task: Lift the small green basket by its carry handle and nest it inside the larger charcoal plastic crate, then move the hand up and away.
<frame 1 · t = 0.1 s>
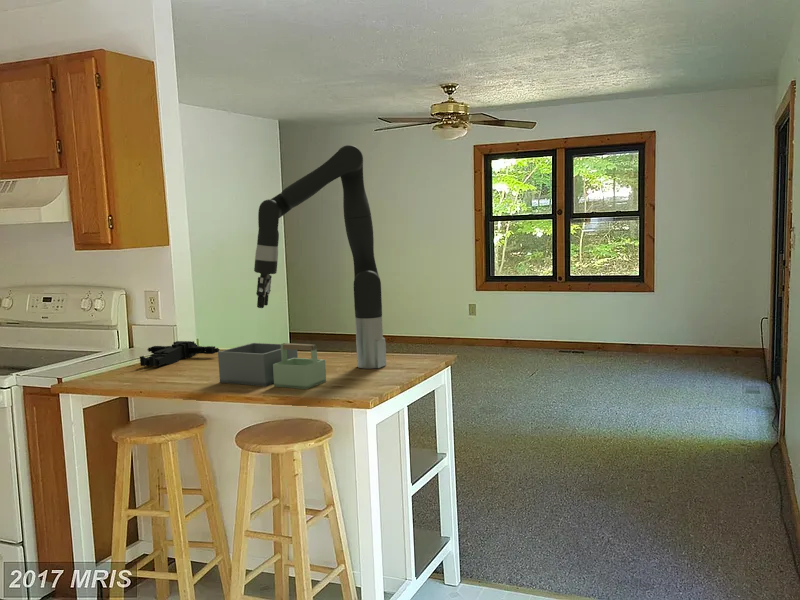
hand: (262, 306, 244), 22 cm above the worktop, tool pointing down, fingers open, 8 cm apart
charcoal crate: (259, 378, 234), on the worktop
green basket: (300, 384, 223), on the worktop
toy: (171, 362, 273), on the worktop
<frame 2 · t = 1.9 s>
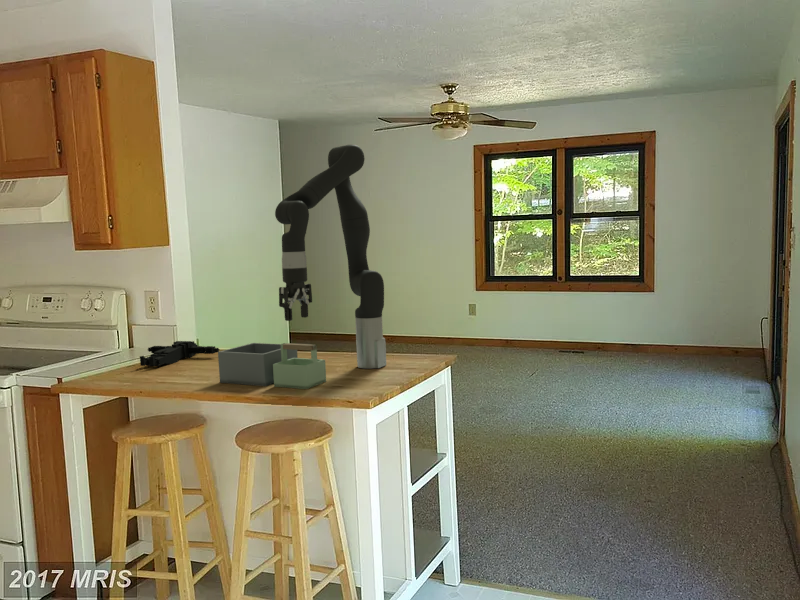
hand: (296, 318, 221), 20 cm above the worktop, tool pointing down, fingers open, 8 cm apart
nothing on the worktop moved.
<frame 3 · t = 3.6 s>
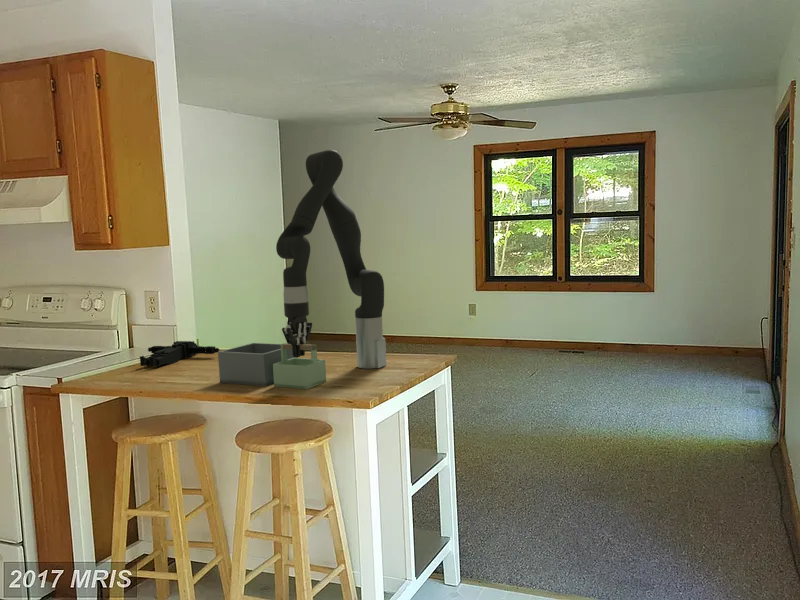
hand: (299, 356, 223), 9 cm above the worktop, tool pointing down, fingers closed on green basket
green basket: (300, 383, 223), on the worktop, touching gripper
everything else where it was.
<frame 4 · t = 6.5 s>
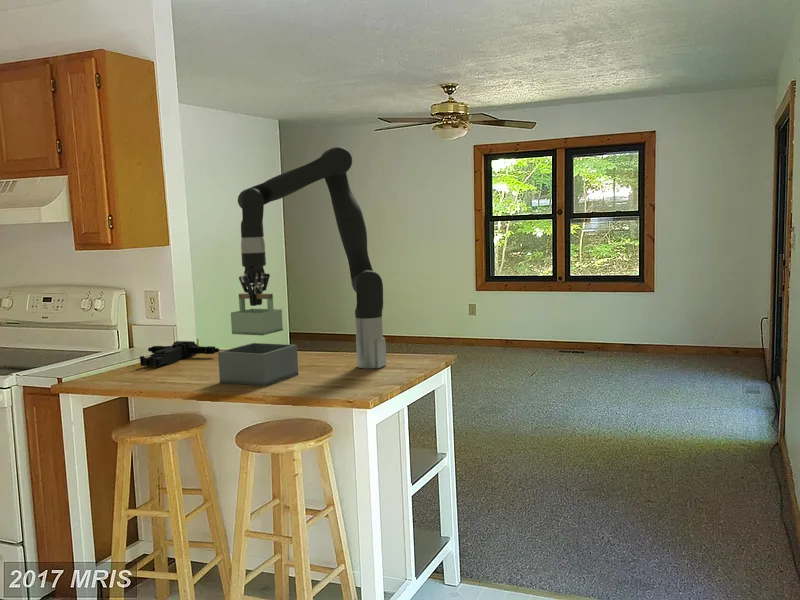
hand: (256, 305, 231), 24 cm above the worktop, tool pointing down, fingers closed on green basket
green basket: (257, 332, 232), point 15 cm above the worktop, touching gripper
everything else where it was.
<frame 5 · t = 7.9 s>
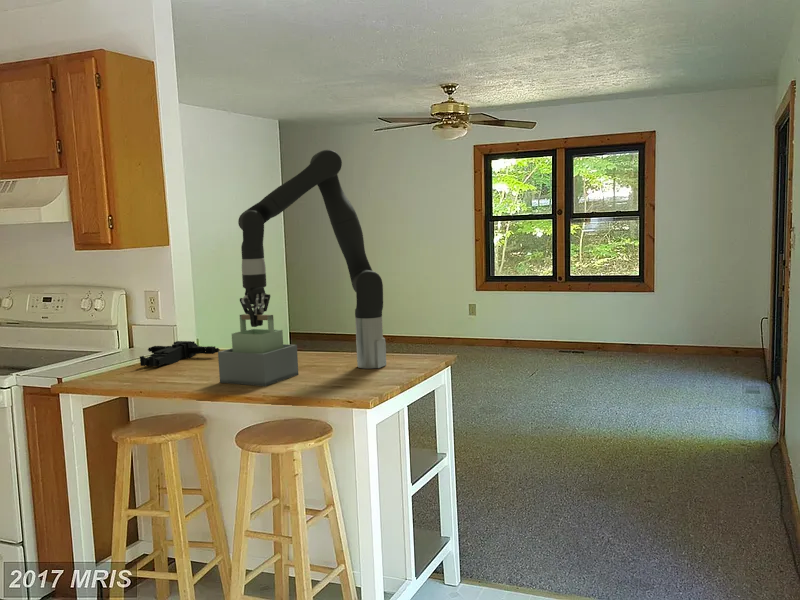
hand: (256, 325, 232), 17 cm above the worktop, tool pointing down, fingers closed on green basket
green basket: (258, 353, 233), point 8 cm above the worktop, touching gripper
everything else where it was.
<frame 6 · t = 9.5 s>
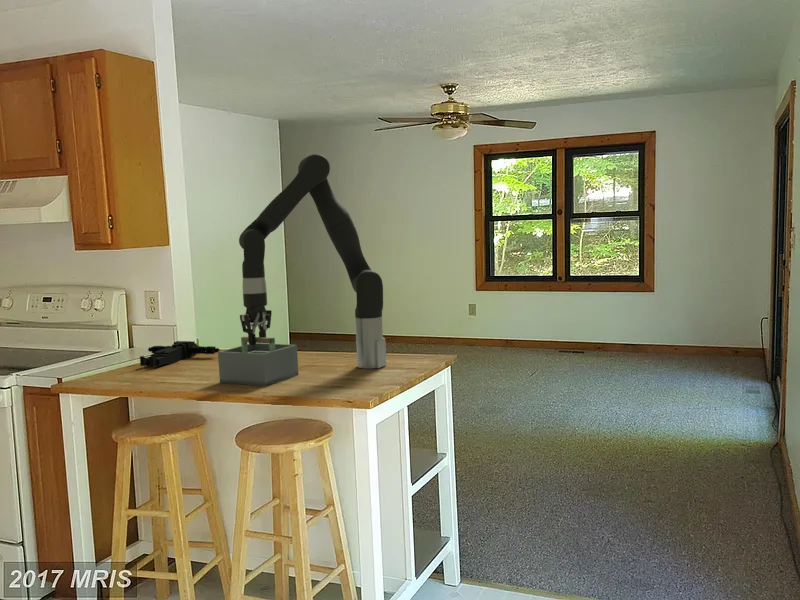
hand: (257, 343, 233), 12 cm above the worktop, tool pointing down, fingers open, 4 cm apart
green basket: (259, 375, 234), point 1 cm above the worktop, touching charcoal crate
everything else where it was.
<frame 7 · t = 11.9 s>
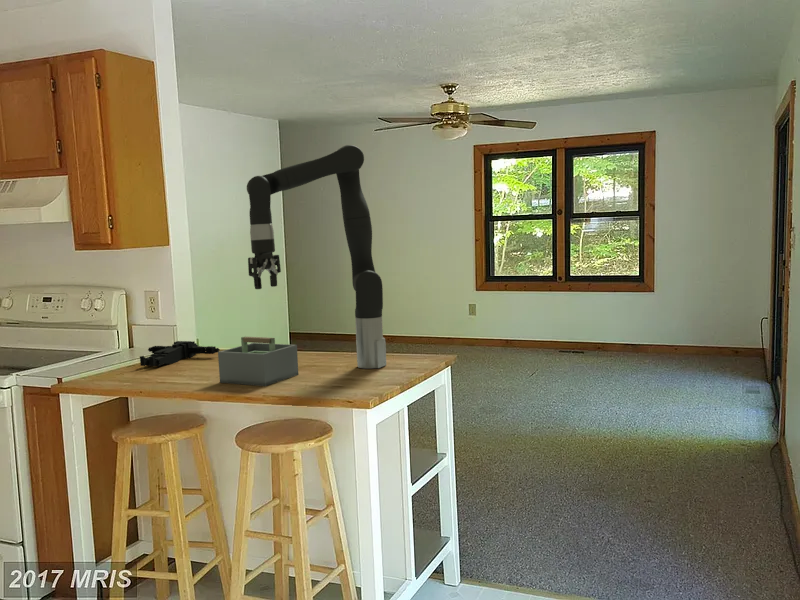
hand: (266, 287, 235), 29 cm above the worktop, tool pointing down, fingers open, 8 cm apart
nothing on the worktop moved.
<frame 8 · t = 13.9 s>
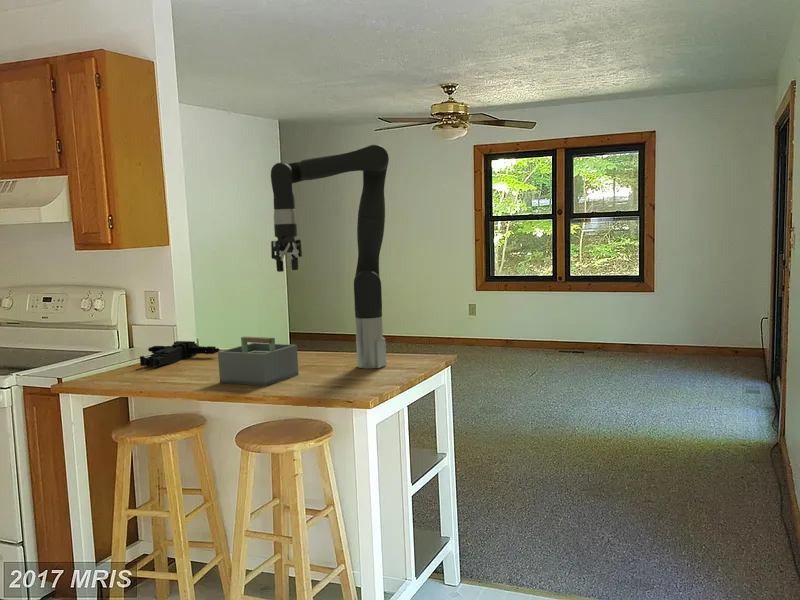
hand: (287, 270, 244), 34 cm above the worktop, tool pointing down, fingers open, 8 cm apart
nothing on the worktop moved.
at the end: green basket 0.1 cm off-centre on the charcoal crate, point 1.0 cm above the charcoal crate's base; green basket tilted 0°; the gripper is holding nothing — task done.
